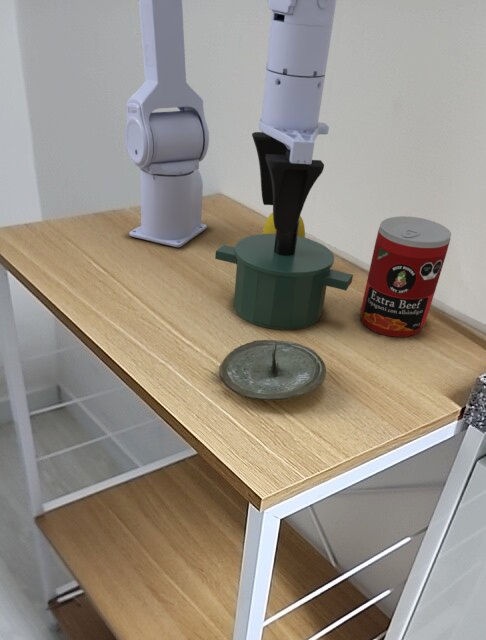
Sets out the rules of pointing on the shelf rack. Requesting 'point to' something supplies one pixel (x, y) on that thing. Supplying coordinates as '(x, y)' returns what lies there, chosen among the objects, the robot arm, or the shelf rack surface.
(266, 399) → the metal candle holder
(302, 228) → the lemon
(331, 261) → the pot lid
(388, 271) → the canned food
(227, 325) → the shelf rack surface
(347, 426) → the shelf rack surface
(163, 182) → the robot arm
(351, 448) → the shelf rack surface
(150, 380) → the shelf rack surface
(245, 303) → the pot
